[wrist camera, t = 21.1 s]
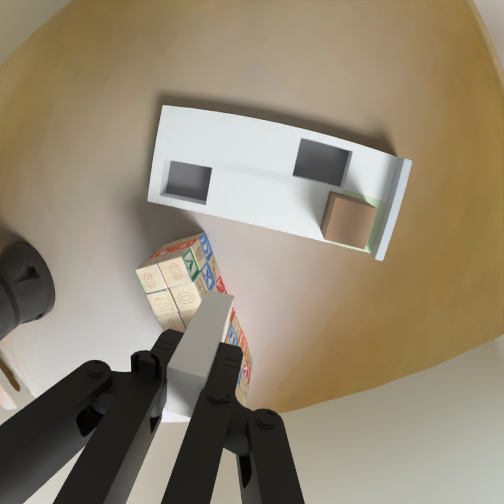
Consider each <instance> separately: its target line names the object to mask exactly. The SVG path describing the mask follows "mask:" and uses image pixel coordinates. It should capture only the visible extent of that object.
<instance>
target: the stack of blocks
mask: <svg viewBox="0 0 504 504" xmlns="http://www.w3.org/2000/svg"><path fill="white" fill-rule="evenodd" d="M135 271H136V273H137V276H138V278H139V280H140V282H141V284H142V287H143V289H144V291H145V292H146V296H147V298H148V300H149V302H150V305H151V307H152V309H153V311H154V313H155V315H156V316H157V319H158V321H159V323H160V325H161V327H162V329H163V331H166V330H167V329H169V328H170V329H173V330H176V331H180V332H183V333H185V331H186V329H187V327H188V325H189V324H190V322H191V320H192V318H193V316H194V314H195V312H196V310H197V309H198V307H199V305H200V303H201V301H202V299H203V297H204V295H205V294H206V292H207V290H212V291H216V292H220V293H224V294H227V293H226V290H225V287H224V284H223V282H222V279H221V276H220V271H219V268H218V266H217V263H216V260H215V257H214V255H213V253H212V250H211V247H210V244H209V241H208V238H207V236H206V233H205V232H203V233H200V234H196V235H193V236H189V237H186V238H182V239H179V240H175V241H172V242H169V243H167V244H165V245H164V246H162V247H161V248H160V249H159V250H158V251H156V252H155V253H154V254H153V255H152V256H151V257H150V258H149V259H148V260H146V261H145V262H144V263H142V264H141V265H140V266H139V267H138V268H137V269H136V270H135ZM224 343H227V344H231V345H236V346H240V347H241V349H242V351H243V354H244V355H243V360H242V364H241V369H240V373H239V378H238V382H237V387H236V394H235V395H236V398H237V400H238V401H239V403H241V404H242V405H243V406H244V407H245V406H246V400H247V395H248V389H249V386H248V385H249V379H250V372H251V369H252V361H253V359H252V356H251V354H250V351H249V348H248V346H247V342H246V339H245V337H244V334H243V331H242V329H241V326H240V323H239V321H238V318H237V315H236V313H235V312H234V310H233V307H232V310H231V315H230V319H229V324H228V329H227V334H226V338H225V341H224Z"/></svg>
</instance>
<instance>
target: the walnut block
mask: <svg viewBox="0 0 504 504" xmlns="http://www.w3.org/2000/svg"><path fill="white" fill-rule="evenodd" d="M376 211H377V208H375V207H374V206H373V205H371V204H370V203H368V202H367V201H365V200H361V199H358V198H354V197H351V196H347V195H344V194H340V193H336V192H333V191H329V195H328V199H327V203H326V206H325V210H324V214H323V218H322V221H321V225H320V230H321V233H322V235H323V238H324V240H328V241H332V242H336V243H340V244H344V245H348V246H352V247H356V248H360V249H365V246H366V243H367V240H368V237H369V234H370V230H371V227H372V224H373V221H374V217H375V214H376Z"/></svg>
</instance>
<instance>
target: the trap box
mask: <svg viewBox="0 0 504 504" xmlns="http://www.w3.org/2000/svg"><path fill="white" fill-rule="evenodd" d="M411 164H412V161H411V160H408V159H405V158H399V157H396V156H393V155H390V154H387V153H384V152H381V151H378V150H375V149H372V148H369V147H366V146H363V145H360V144H356V143H353V142H350V141H346V140H343V139H339V138H336V137H332V136H329V135H325V134H321V133H317V132H314V131H310V130H306V129H302V128H297V127H293V126H289V125H285V124H280V123H275V122H271V121H266V120H261V119H256V118H251V117H245V116H240V115H234V114H228V113H222V112H215V111H208V110H201V109H193V108H185V107H176V106H166V105H163V107H162V112H161V117H160V122H159V127H158V133H157V139H156V144H155V150H154V157H153V163H152V170H151V177H150V184H149V192H148V200H147V201H148V202H153V203H158V204H163V205H167V206H172V207H177V208H181V209H186V210H191V211H195V212H200V213H204V214H209V215H214V216H218V217H223V218H227V219H231V220H236V221H240V222H245V223H249V224H253V225H258V226H262V227H266V228H270V229H275V230H279V231H283V232H287V233H291V234H296V235H300V236H304V237H308V238H312V239H316V240H320V241H324V242H328V243H332V244H336V245H340V246H344V247H348V248H352V249H356V250H360V251H364V252H368V253H371V254H372V256H373V257H374V258H375V259H376V260H380V261H383V258H384V255H385V252H386V250H387V247H388V244H389V241H390V238H391V235H392V231H393V228H394V225H395V222H396V219H397V215H398V212H399V209H400V205H401V202H402V198H403V195H404V191H405V188H406V184H407V180H408V176H409V172H410V168H411ZM329 191H333V192H336V193H340V194H344V195H347V196H351V197H354V198H358V199H361V200H365V201H367V202H368V203H370V204H371V205H373V206H374V207H375V208H377V211H376V214H375V217H374V221H373V224H372V227H371V230H370V234H369V237H368V240H367V243H366V246H365V249H360V248H356V247H352V246H348V245H344V244H340V243H336V242H332V241H328V240H324V238H323V235H322V233H321V230H320V225H321V221H322V218H323V214H324V210H325V206H326V203H327V199H328V195H329Z"/></svg>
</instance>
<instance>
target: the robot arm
mask: <svg viewBox="0 0 504 504" xmlns="http://www.w3.org/2000/svg"><path fill="white" fill-rule="evenodd" d="M233 300H234V296H233V295H229V294H224V293H220V292H216V291H212V290H207V292H206V294H205V295H204V297H203V299H202V301H201V303H200V305H199V307H198V309H197V310H196V312H195V314H194V316H193V318H192V320H191V322H190V324H189V325H188V327H187V329H186V331H185V333H183V332H180V331H176V330H173V329H170V328H169V329H167V330H166V331H164V332H162V333H161V335H160V336H159V338H158V339H157V341H156V343H155V344H154V346H153V347H152V349H151V351H148V350H143V351H138V352H135V353H134V354H133V355H131V372H117V371H111V369H110V366H109V365H108V364H106V363H105V362H103V361H100V360H90V361H87V362H85V363H84V364H82V365H81V366H80V367H78V368H77V369H75V370H74V371H73V372H71V373H70V374H69V375H67V376H66V377H65V378H63V379H62V380H61V381H59V382H58V383H57V384H55V385H54V386H52V387H51V388H50V389H48V390H47V391H46V392H44V393H43V394H42V395H40V396H39V397H38V398H36V399H35V400H34V401H32V402H31V403H30V404H28V405H27V406H26V407H24V408H23V409H22V410H20V411H19V412H18V413H16V414H15V415H14V416H12V417H11V418H10V419H8V420H7V421H5V422H4V423H3V424H2V425H1V426H0V504H23V503H24V502H25V501H26V500H27V499H28V498H29V497H31V496H32V495H33V494H34V493H35V492H36V491H37V490H38V489H39V488H40V487H42V486H43V485H44V484H45V483H46V482H47V481H48V480H49V479H50V478H51V477H52V476H53V475H55V474H56V473H57V472H58V471H59V470H60V469H61V468H62V467H63V466H64V465H65V464H66V463H67V462H68V461H69V460H71V459H72V458H73V457H74V456H75V455H76V454H77V453H78V452H79V451H80V450H81V449H82V448H83V447H84V446H85V445H86V446H85V448H84V449H83V451H82V453H81V455H80V456H79V458H78V460H77V462H76V463H75V465H74V467H73V468H72V470H71V472H70V474H69V475H68V477H67V479H66V481H65V482H64V484H63V486H62V488H61V490H60V491H59V493H58V495H57V497H56V499H55V500H54V503H53V504H126V501H127V499H128V497H129V494H130V492H131V490H132V487H133V485H134V482H135V480H136V478H137V475H138V473H139V470H140V468H141V466H142V464H143V461H144V459H145V456H146V454H147V452H148V449H149V447H150V445H151V442H152V440H153V438H154V435H155V433H156V431H157V429H158V426H159V424H160V422H161V419H162V410H163V408H164V406H165V410H167V411H171V412H174V413H177V414H180V415H184V416H187V417H191V420H190V422H189V426H188V428H187V431H186V434H185V437H184V440H183V442H182V445H181V448H180V451H179V454H178V456H177V459H176V462H175V465H174V468H173V471H172V473H171V476H170V479H169V482H168V485H167V488H166V491H165V493H164V496H163V499H162V502H161V504H210V501H211V497H212V493H213V488H214V484H215V480H216V476H217V472H218V468H219V463H220V459H221V455H222V450H223V448H225V449H227V450H229V451H231V452H233V453H235V454H236V459H237V467H238V475H239V483H240V491H241V498H242V504H305V503H304V499H303V495H302V491H301V488H300V484H299V480H298V476H297V473H296V469H295V465H294V461H293V457H292V453H291V450H290V446H289V442H288V438H287V434H286V430H285V427H284V423H283V420H282V418H281V417H280V416H279V415H278V414H277V413H276V412H274V411H272V410H269V409H257V410H255V411H252V410H250V409H248V408H246V407H244V406H243V405H242V404H241V403H239V401H238V400H237V398H236V395H235V394H236V387H237V382H238V378H239V373H240V369H241V364H242V360H243V355H244V354H243V351H242V349H241V347H240V346H236V345H231V344H227V343H224V341H225V338H226V334H227V329H228V324H229V319H230V315H231V310H232V305H233ZM54 302H55V289H54V284H53V280H52V277H51V274H50V272H49V270H48V268H47V266H46V264H45V262H44V261H43V259H42V258H41V256H40V255H39V254H38V252H37V251H36V250H35V249H34V248H32V247H31V246H30V245H28V244H26V243H24V242H15V243H13V244H11V245H9V246H7V247H5V248H4V249H3V250H2V252H1V253H0V341H1V340H2V339H3V338H4V337H5V336H6V335H8V334H9V333H10V332H11V331H12V330H13V329H15V328H16V327H17V326H18V325H20V324H24V323H27V322H31V321H34V320H38V319H41V318H42V317H44V316H45V315H46V314H48V313H49V312H50V311H51V310H52V308H53V306H54ZM165 404H166V405H165Z"/></svg>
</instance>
